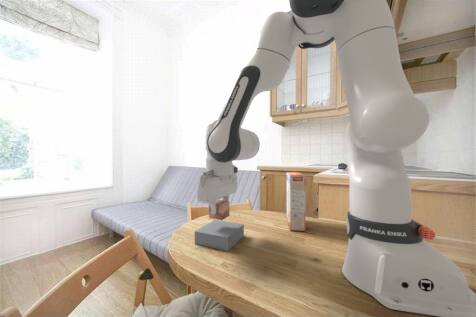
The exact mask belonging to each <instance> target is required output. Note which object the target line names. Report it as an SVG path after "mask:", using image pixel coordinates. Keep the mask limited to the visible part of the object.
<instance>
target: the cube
mask: <svg viewBox="0 0 476 317" xmlns="http://www.w3.org/2000/svg"><path fill="white" fill-rule="evenodd" d="M215 204H216V207H217V208H218V213H216V214H212V213H211V208H210V206H209V205H208V219H212V220H217V221H224V220H225V219H227V218H228V217H229V216H230V200H228V201H223V199H222V200H221V199H218V200H216V203H215Z"/></svg>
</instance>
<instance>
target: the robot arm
mask: <svg viewBox="0 0 476 317" xmlns="http://www.w3.org/2000/svg"><path fill="white" fill-rule="evenodd" d="M288 2H289V8H290V10H289V11H287V12H285V11H275V12H273V13H271V14H269V16H268V17H267V18H266V20H265V22H264V24H263V26H262V27H261V29H260V31H259V33H258V35H257V38H256V41H255V44H254V46H253V50H252V53H251V55H250V56H249V60H248V62H247V64H246V66H245V67H244V68H242V69H241V70H240V71H239V73H238V75H237V76H236V78H235V81H234V83H233V85H232V87H231V90H230V91H229V94H228V96H227V98H226V101H225V103H224V105H223V108H222V110H221V113H220V115H219V117H218V119H217V120H212V121H211V122H210V123H208V125H207V128H206V133H205V149H206V150H205V151H206V158H205V171H203V172H202V174H201V175H200V177H199V180H198V183H197V184H198V185H197V193H196V194H197V195H196V196H197V197H196V199H197V202H199V203H201V204H208V207H209V206H210V208H211V213H212V214H216V213H218V208H217V207H216V204H215V203H216V200H221V199H222V200H223V201H230V200H229V199H230V195H232V194H235V193H236V192H237V190H238V189H237V188H238V175H237V174H238V173H239V168H238V167H237V166H236V165H235V164H234V163H233V161H243V160H244V161H245V160H251V159H252V158H254V157H255V156H257V154H258V153H259V150H260V145H261V144H260V138H259V136H258V135H257V134H256V133H255V132H253V131H252V130H249V129H245V128H243V127H242V125H243V123H244V121H245V118H246V116H247V114H248V111H249V109H250V106H251V104H252V102H253V100H254V99H255V98H256V96H258V95H259V94H261V93H263V92H270V91H272V90H274V89H276V88H278V87H279V86H280V85H281V84H282V82H283V80H284V79H285V78H286V74H287V72H288V71H289V70H288V69H289V67H290V64H291V61H292V58H293V55H294V53H295V51H296V49H297V47H298V48H300V49H302V50H306V49H322V48H324V47H327V46H329V45H330V44H332V43H333V42H335V51H336V56H337V62H338V68H339V70H338V71H339V77H340V83H341V88H342V89H343V90H342V91H343V93H344V96H345V100H346V105H347V109H348V114H349V119H350V121H349V123H348V124H347V127H346V129H345V130H346V132H345V136H346V138H345V139H346V154H347V156H346V157H347V158H346V159H347V168H348V181H349V185H348V186H349V191H348V192H349V194H348V196H349V197H348V198H349V202H348V203H349V206H348V207H349V211H348V212H347V217H346V234H347V237H348V241H347V248H346V255H345V258H344V262H343V265H342V268H341V271H342V274H343V275H344V277H345V278H346V279H347V281H348V282H350V284H352V285H353V286H355V287H356V288H358V289H359V290H361V291H363V292H364V293H366V294H368V295H369V296H372V297H373V298H374V299H375V300H376V301H378V303H380V304H382V306H384V307H386V308H388V309H391V310H395V311H402V312H408V313H415V314H421V315H428V316H435V317H476V292H475V291H473V290H472V289H471V288H470V287H469V285H468V282H467V279H466V276H465V275H464V272H462V270H461V269H460V267H458V265H457V264H456V263H455V262H453V261H452V260H451V259H450V258H449V257H447V256H446V255H445V254H443V253H442V252H441V251H439V249H436V248H435V246H433V245H431V243H429V242H427V241H432V240H434V239H436V236H437V235H436V232H435V231H434V230H432V229H431V228H430V227H428V226H424V225H423V224H421V223H420V222H418V221H416V220H414V219H413V218H412V184H411V183H412V182H411V180H410V177H409V175H408V173H407V169H406V166H405V162H404V161H405V160H404V156H403V153H402V151H403V150H405V149H407V148H409V147H410V146H411V145H413V144H415V143H416V142H417V141H418V140H419V139H420V138H421V137H422V136H423V135H424V133H425V132H426V131H427V128H428V126H429V122H430V113H429V110H428V108H427V107H426V105H425V103H423V101H421V99H419V98H418V97H416V96H415V94H414V92H413V89H412V88H411V85H410V83H409V81H408V79H407V76H406V74H405V71H404V69H403V66H402V60H401V56H400V50H399V44H398V38H397V33H396V26H395V22H394V21H395V20H394V18H393V14H392V11H391V8H390V6H389V3H388V1H387V0H288ZM424 239H425V240H424Z"/></svg>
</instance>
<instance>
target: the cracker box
mask: <svg viewBox="0 0 476 317" xmlns="http://www.w3.org/2000/svg"><path fill="white" fill-rule="evenodd" d="M285 174H286V175H285V176H286V177H285V178H286V221H287V225H288V227H289V228H288V229H289V230H290V231H292V232H293V231H295V232H306V184H307V183H306V179H307V177H306V175H305V174H303V173H301V172H297V171H291V172H289V171H288V172H286V173H285Z"/></svg>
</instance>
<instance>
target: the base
mask: <svg viewBox="0 0 476 317" xmlns="http://www.w3.org/2000/svg"><path fill="white" fill-rule="evenodd" d="M244 230H245V226H244V223H238V222H237V223H235V222H230V221H224V220H218V219H213V220H212V221H211V222H209V223H207V224H205V225H204V226H201V227H200V228H198V229H197V230H195V231H194V244H195V245H199V246H202V247H207V248H213V249H217V250H221V251H225V252H226V251H227V252H228V251H229V250H231V249H232V248H233V247H234V246H235V245H236V244H237V243H238V242H239V241H240V240H241V239H242V238H243V237H244V235H245V234H244V233H245V231H244Z"/></svg>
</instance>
